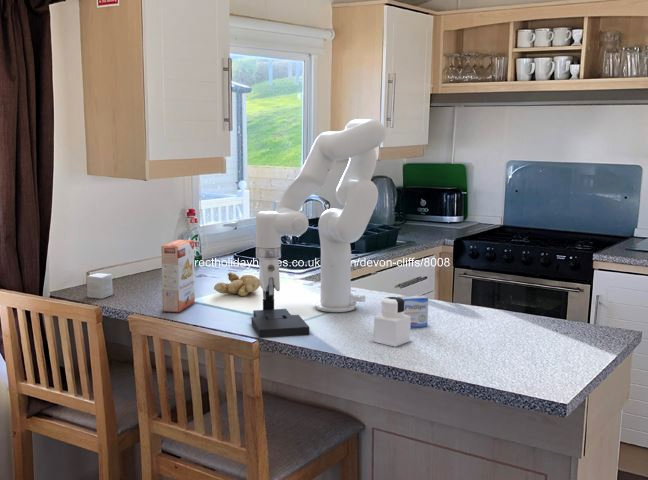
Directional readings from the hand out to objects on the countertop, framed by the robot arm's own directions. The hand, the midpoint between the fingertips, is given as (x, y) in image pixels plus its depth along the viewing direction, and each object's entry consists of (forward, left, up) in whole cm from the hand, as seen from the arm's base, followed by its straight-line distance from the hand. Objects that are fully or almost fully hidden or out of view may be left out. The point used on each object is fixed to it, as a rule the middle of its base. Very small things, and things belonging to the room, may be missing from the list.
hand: (268, 311), depth 232 cm
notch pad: (0, +17, -1) cm, 17 cm away
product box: (+51, -38, -1) cm, 64 cm away
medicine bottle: (-27, +36, -1) cm, 45 cm away
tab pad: (0, +7, -1) cm, 7 cm away
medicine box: (-38, +22, -1) cm, 44 cm away
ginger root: (+4, -32, -1) cm, 33 cm away
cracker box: (+26, -16, -1) cm, 31 cm away
